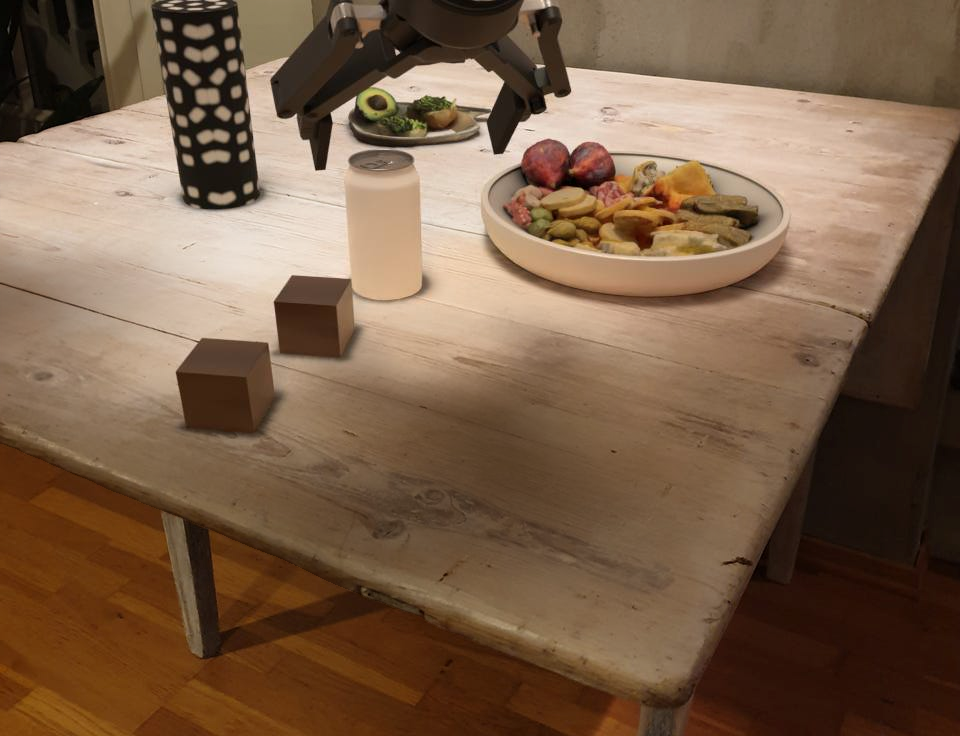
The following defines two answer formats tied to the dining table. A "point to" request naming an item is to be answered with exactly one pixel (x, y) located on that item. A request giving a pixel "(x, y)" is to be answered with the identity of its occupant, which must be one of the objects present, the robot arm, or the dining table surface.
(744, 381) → the dining table surface
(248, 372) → the near block
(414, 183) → the can
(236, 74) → the spotted tube
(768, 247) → the bowl
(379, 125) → the salad plate
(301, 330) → the far block
